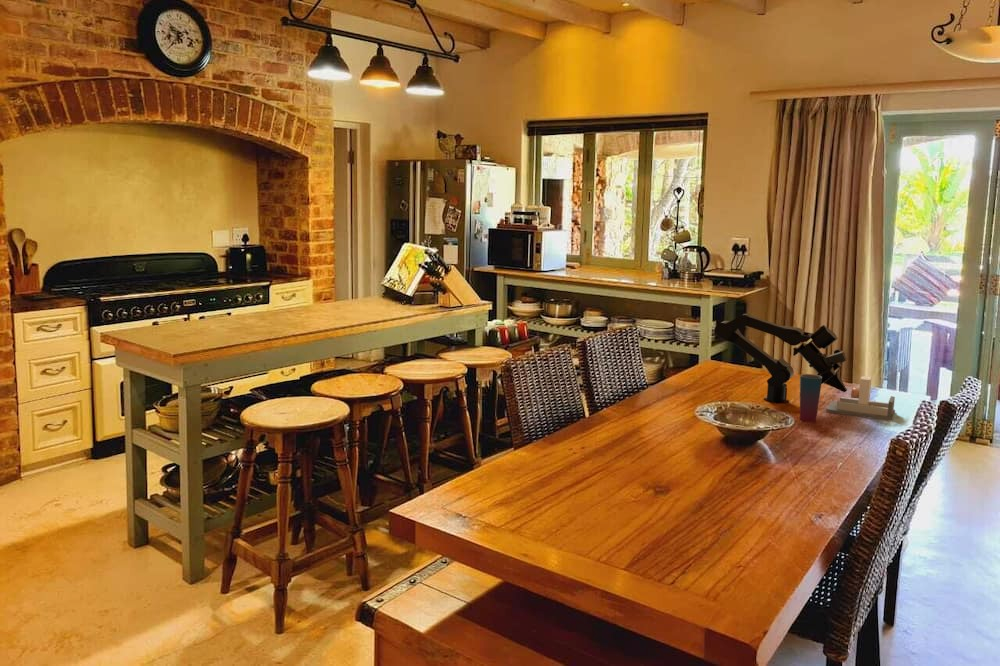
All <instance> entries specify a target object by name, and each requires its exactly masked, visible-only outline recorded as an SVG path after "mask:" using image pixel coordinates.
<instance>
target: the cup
mask: <svg viewBox="0 0 1000 666" xmlns="http://www.w3.org/2000/svg"><path fill="white" fill-rule="evenodd" d="M799 380H800V381H799V420H800V421H802V422H804V423H805V422H806V423H814V422H816V421H817V415H818V409H819V402H820V395H821V390H822V389H821V388H822V384H823V383H822V377H821V376H819V375H817V374H811V373H804V374H803V373H802V374H800V377H799ZM821 383H822V384H821Z"/></svg>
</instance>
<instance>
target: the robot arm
mask: <svg viewBox="0 0 1000 666" xmlns="http://www.w3.org/2000/svg"><path fill="white" fill-rule="evenodd" d="M744 326H746V327H749V328H752V329H754V330H758V331H760V332H763V333H766V334H769V335H772V336H774V337H777V338H779V340H781V341H782V342H785V343H786V344H787V345H790V346H794V347H793V349H792V350H793V352H792V354H793V357H795V356H796V355H797V354H800V355H801V357H802V358H803V359H804V360H805V361H806V362H807V363H808V366H809V367H810V368H812V369H813V370H814V371H815V372H816V373H817V374H816V375H819V376H821V377H822V383H821V385H822V384H825V385H828V386H830V387H832V388H834V389H836V390H839V391H841V392H843V393H846V392H847V390H848V389H847V387H846V384H844V381H843V380H842V377H841V375H840V372H841V369H839V368H841V367H842V363H845V362H846V361H847V360H848V358H847V356H846V352H845V351H844V350H840V349H839V348H836V349H834V350H833V353H832V354H830V355H827V354H826V353H823V352H821V351H820V349H821V350H825V349H827V348H828V347H829V346H831V345H832V344H833V343H835V342H836V341H837V340H838V339H839V338H838V335H836V333H835V332H834V331H833V330H831V329H830V328H829V327H827V326H826V325H825V324H823V325H821V326H820V327H819V328H818V329H817V330H816V331H815V332H813V333H812V332H808V331H804V330H803V329H802V328H800V327H795V326H789V325H781V324H778V323H775V322H772V321H768V320H765V319H762V318H759V317H757V316H753V315H751V314H749V313H743V314H741V315H740V316H739V317H737V318H734V319H732V320H724V321H721V322H719V323H718V324H716V326H715V327H714V331H715V333H714V334H715V336H717V337H718V338H720V339H722V340H724V341H726V342H729V343H731V344H734V345H735V346H737V347H738V348H739V349H741V350H742V351H743V352H744V353H746V354H748V355H749V356H750V357H751V358H753V359H754V360H755V361H757V362H758V363H759V364H760V365H762V366H763V367H764V368H766V370H767V371H768V373H769V374H770V375H771V376H770V377H769V378H768V379H766V382H767V391H766V397H763V400H764V401H768V402H771V403H772V404H773V403H774V404H781V403H788V402H790V400H789V399H787V395H788V394H787V393H788V388H787V386H788V384H786V383H787V382H788V381H789V380H791V379H792V378H793V376H794V374H795V373H794V372H795V371H794V368H793V366H791V365H792V364H791V363H789V362H788V361H786V360H785V359H784V358H783V357H780V358H779V359H776V358H774V357H773V356H772V355H770V354H768V353H767V352H766V351H765V350H763V349H762V348H760V346H758V345H756V344H755V343H754V342H752V341H751V340H749V338H747V337H746V336H744V335H743V334H742V332H741V331H740V328H741V327H744ZM809 340H810V341H809ZM808 341H809V342H808ZM807 342H808V343H807ZM798 345H799V346H798ZM796 346H798V347H796ZM837 369H838V370H837ZM836 370H837V371H836Z"/></svg>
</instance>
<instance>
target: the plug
mask: <svg viewBox="0 0 1000 666" xmlns="http://www.w3.org/2000/svg"><path fill="white" fill-rule="evenodd" d="M872 378H873V377H872V376H867V375H866V376H865V375H864V376H863V375H862V376H861V377H860V379H859V387H852V388H851V393H850V397H851V398H853V399H858V404H862V405H869V401H871V399H870V398H871V388H872Z"/></svg>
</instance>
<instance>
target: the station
mask: <svg viewBox="0 0 1000 666" xmlns="http://www.w3.org/2000/svg"><path fill="white" fill-rule="evenodd" d="M895 398H896V397H895V396H892V395H891V396H890V398H889V400H888V402H884V401H876V400H869V405H862V404H858V398H850V397H843V396H840V397H839V401H831V402H829V405H828V406H827V407H826V409H825V412H826V413H832V414H840V415H846V416H853V417H861V418H868V419H869V418H870V419H876V420H882V421H883V420H884V421H889V422H892V421H893V419H894V416H895V413H896V410H895V409H894V408H895Z"/></svg>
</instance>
